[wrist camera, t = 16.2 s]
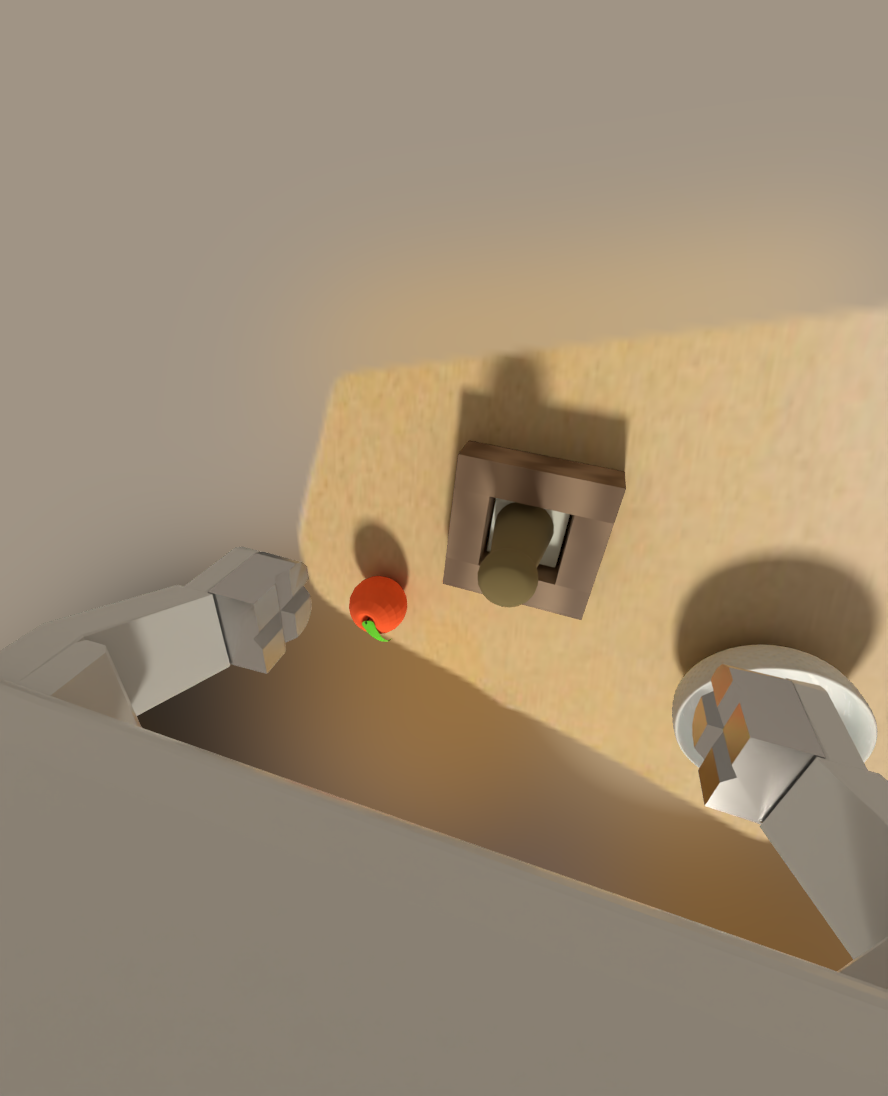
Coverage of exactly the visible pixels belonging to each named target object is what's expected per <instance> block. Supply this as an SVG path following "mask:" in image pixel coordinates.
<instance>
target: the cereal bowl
mask: <svg viewBox="0 0 888 1096" xmlns="http://www.w3.org/2000/svg"><path fill="white" fill-rule="evenodd" d="M721 664H725V665H729V666H734V667H738V668H742V669H746V670H750V671H755V672H759V673H763V674H767V675H772V676H776V677H780V678H784V679H786V678H788V679H792V680H797V681H801V682H806V683H811V684H815V685H820V686H821V687H822V688H824V689H825V690H826V691H827V692H828V694H829V696H830V698H831V700H832V702H833V704H834V706H835V708H836V710H837V712H838V714H839V715H840V717H841V719H842V721H843V723H844V725H845V727H846V729H847V731H848V733H849V735H850V737H851V739H852V741H853V743H854V744H855V746H856V748H857V750H858V752H859V754H860V756H861V758H862V760H863V762H865V761H866V760H867V759H868V758H869V756H870V755H871V753H872V751H873V749H874V747H875V744H876V740H877V724H876V720H875V717H874V715H873V713H872V710H871V709H870V707H869V705H868V703H867V702H866V701H865V700H864V698H863V696H862V695H861V694H860V692H859V691H858V689H857V688H856V687H855V686H854V685H853V683H852V682H850V681H849V680H848V678H847V677H846V676H844V675H843V674H842V673H841V672H840V671H839V670H837V669H836V668H835V667H834V666H832V665H830V664H828V663H827V662H826V661H824V660H821V659H819V658H818V657H816V656H814V655H811V654H809V653H806V652H803V651H800V650H796V649H793V648H788V647H782V646H777V645H762V644H759V645H746V646H740V647H735V648H730V649H726V650H724V651H721V652H717V653H715V654H713V655H711V656H708V657H707V658H705V659H703V660H701V661H700V662H699V663H697V664H696V665H695V666H693V667H692V668H691V669H690V670H689V671H688V672H687V673H686V674H685V676H684V677H683V678H682V679H681V682H680V683H679V685H678V687H677V689H676V691H675V695H674V700H673V707H672V717H673V728H674V732H675V736H676V739H677V742H678V744H679V746H680V748H681V750H682V751H683V753H684V754H685V755H686V756H687V757H688V759H689V760H690V761H691V762H693V763H694V764H695V765H696V766H697V767H699V768H700V766H701V765H702V763H703V761H704V759H703V758H702V756H701V755H700V754H699V753H698V752H697V750H696V749H695V748H694V743H693V737H692V723H693V718H694V713H695V709H696V707H697V704H698V702H699V700H700V698H701V696H703V695H705V694H707V693H710V692H712V691H713V687H712V683H711V678H712V676H713V674H714V672H715V670H716V669H717V668H718V667H719V666H720V665H721Z"/></svg>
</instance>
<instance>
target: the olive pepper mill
mask: <svg viewBox="0 0 888 1096" xmlns="http://www.w3.org/2000/svg"><path fill="white" fill-rule="evenodd" d="M553 534H554V524H553V521H552V518H551V517H550V515H549V514H548V513H547V511H546V510H545V509H543V508H540V507H535V506H531V505H526V504H522V503H517V502H513V503H510V504H508V505H507V506H505V507H503V508H502V509H501V511H500V512H499V513H498V514H497V517H496V520H495V525H494V531H493V538H492V544H491V550H490V554H488V555H487V556H486V557H485V559H484V560H483V561H482V562H481V564H480V567H479V570H478V585H479V587H480V590H481V592H482V593H483V595H484V596H485V597H486V598H487V599H488V600H489V601H491V602H492V603H494V604H496V605H499V606H501V607H515V606H519V605H521V604H523V603H526V602H527V601H528V600H529V599H530V598H531V597H532V596H533V595H534V593H535V591H536V588H537V586H538V571H537V567H538V565H539V563H540V561H541V559H542V557H543V555H544V553H545V551H546V549H547V547H548V545H549V543H550V541H551V539H552V537H553Z"/></svg>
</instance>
